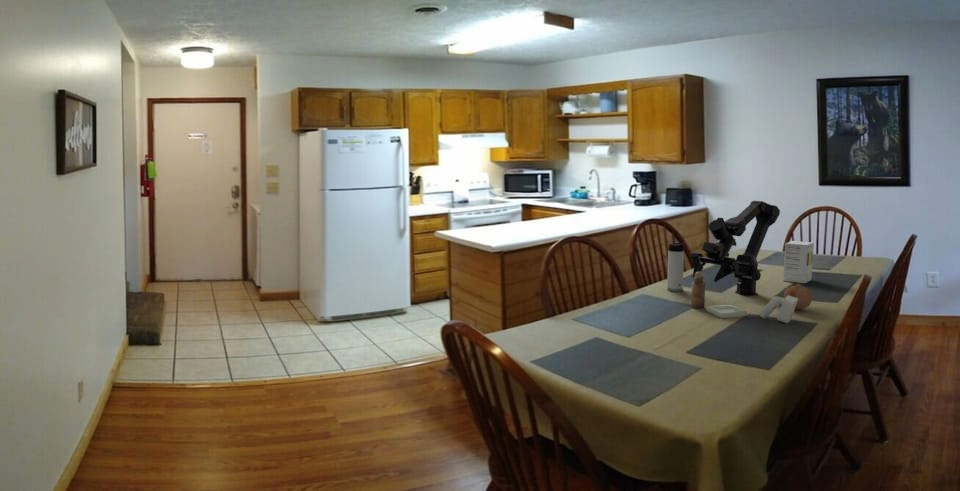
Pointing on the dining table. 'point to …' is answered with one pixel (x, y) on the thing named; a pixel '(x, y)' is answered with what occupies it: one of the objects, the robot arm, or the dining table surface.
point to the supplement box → (798, 261)
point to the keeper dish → (726, 311)
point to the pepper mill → (698, 292)
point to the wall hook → (785, 310)
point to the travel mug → (675, 266)
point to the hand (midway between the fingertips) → (704, 279)
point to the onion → (799, 295)
